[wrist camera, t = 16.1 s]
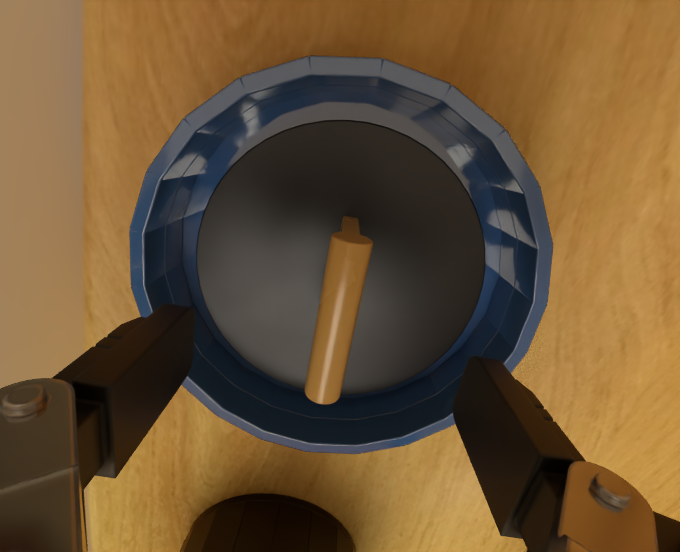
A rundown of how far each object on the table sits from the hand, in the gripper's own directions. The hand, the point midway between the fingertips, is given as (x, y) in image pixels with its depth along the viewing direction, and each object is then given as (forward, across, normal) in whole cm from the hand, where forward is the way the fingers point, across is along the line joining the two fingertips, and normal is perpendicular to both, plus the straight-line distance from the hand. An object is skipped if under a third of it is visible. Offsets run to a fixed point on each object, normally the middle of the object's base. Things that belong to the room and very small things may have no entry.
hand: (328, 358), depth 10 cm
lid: (+7, 0, 0) cm, 7 cm away
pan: (+8, 0, 0) cm, 8 cm away
